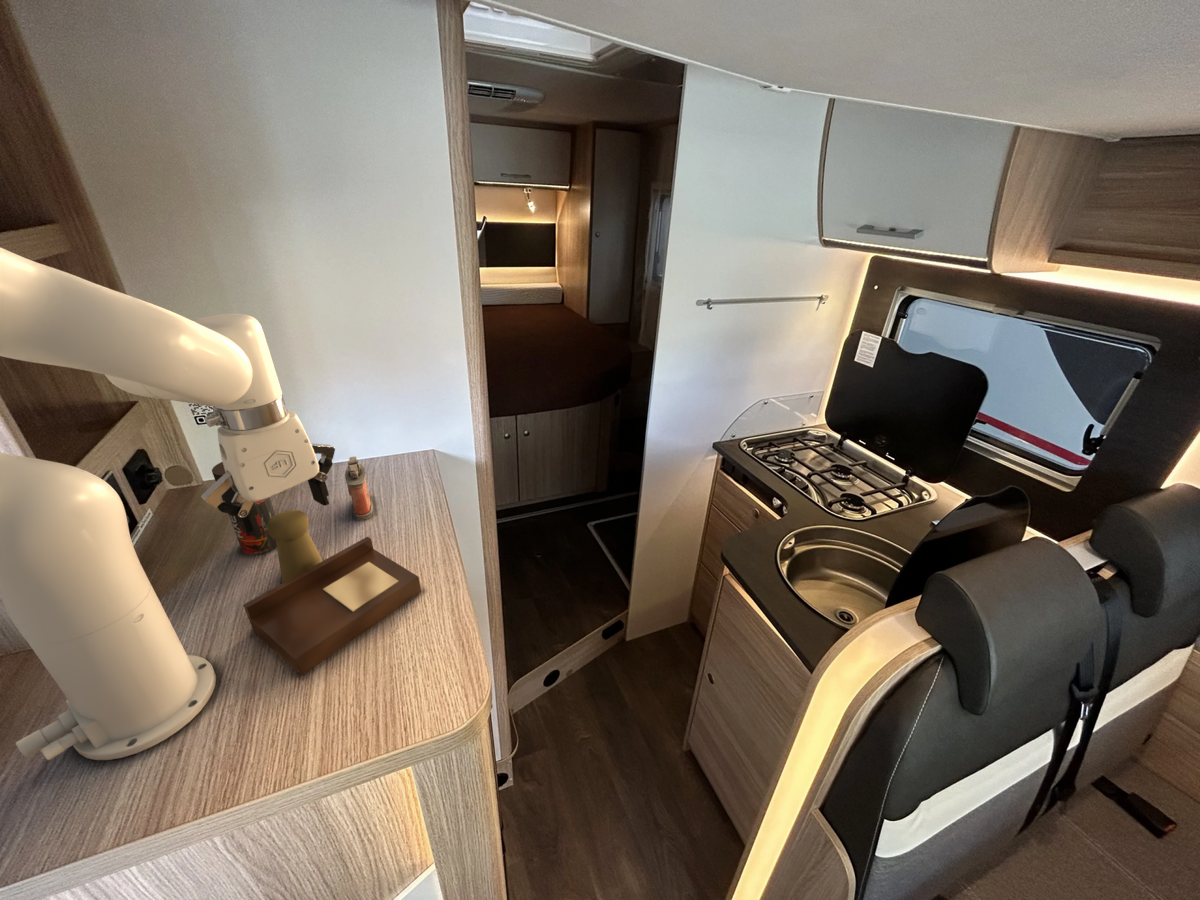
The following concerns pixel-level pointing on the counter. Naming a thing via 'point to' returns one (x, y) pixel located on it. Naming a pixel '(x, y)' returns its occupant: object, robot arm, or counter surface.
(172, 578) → the counter surface
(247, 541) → the deodorant
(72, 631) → the robot arm
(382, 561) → the shelf
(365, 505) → the lighter
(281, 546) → the cork
